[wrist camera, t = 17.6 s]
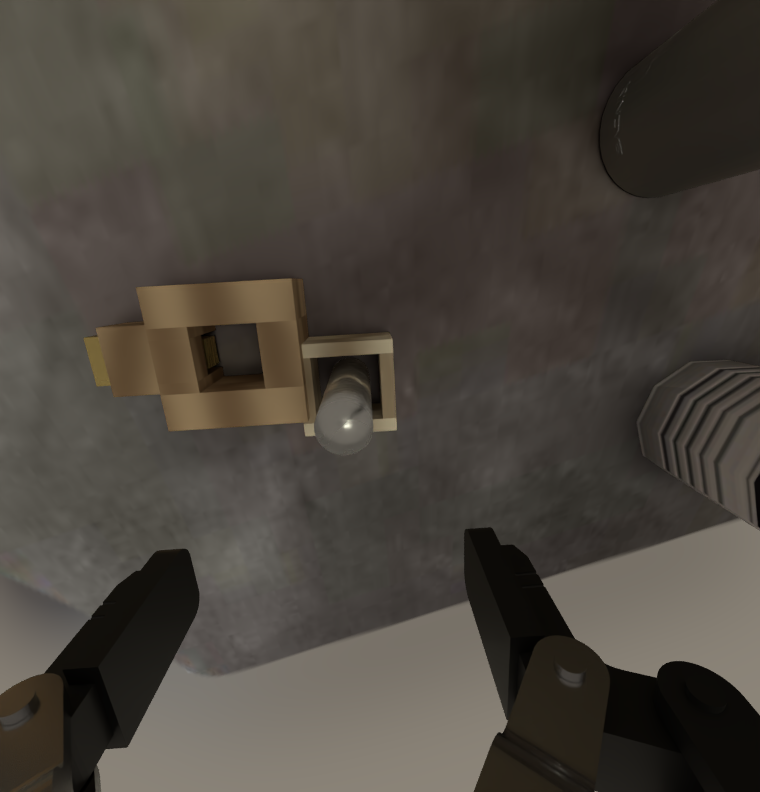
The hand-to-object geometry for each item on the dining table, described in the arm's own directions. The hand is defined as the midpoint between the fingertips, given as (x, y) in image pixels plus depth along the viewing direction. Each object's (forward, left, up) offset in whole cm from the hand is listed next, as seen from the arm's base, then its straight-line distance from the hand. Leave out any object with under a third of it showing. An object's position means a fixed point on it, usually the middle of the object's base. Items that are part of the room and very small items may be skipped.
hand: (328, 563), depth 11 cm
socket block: (+10, -3, -22) cm, 25 cm away
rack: (0, 0, -22) cm, 22 cm away
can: (-31, +6, -22) cm, 39 cm away
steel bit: (0, 0, -22) cm, 22 cm away
